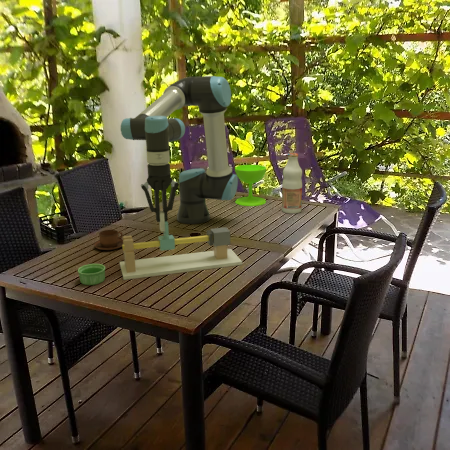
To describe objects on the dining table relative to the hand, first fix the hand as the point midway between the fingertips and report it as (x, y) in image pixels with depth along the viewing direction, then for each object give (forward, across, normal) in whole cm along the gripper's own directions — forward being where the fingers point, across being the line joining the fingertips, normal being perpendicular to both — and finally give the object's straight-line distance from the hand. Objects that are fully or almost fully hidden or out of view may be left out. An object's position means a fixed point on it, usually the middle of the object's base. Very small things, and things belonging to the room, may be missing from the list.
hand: (162, 230), depth 177 cm
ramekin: (+14, -25, -4) cm, 29 cm away
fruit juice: (+14, +71, +50) cm, 88 cm away
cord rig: (+14, +6, 0) cm, 15 cm away
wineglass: (+14, +58, +73) cm, 94 cm away
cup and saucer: (+14, -17, +28) cm, 35 cm away
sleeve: (+7, +1, 0) cm, 7 cm away
